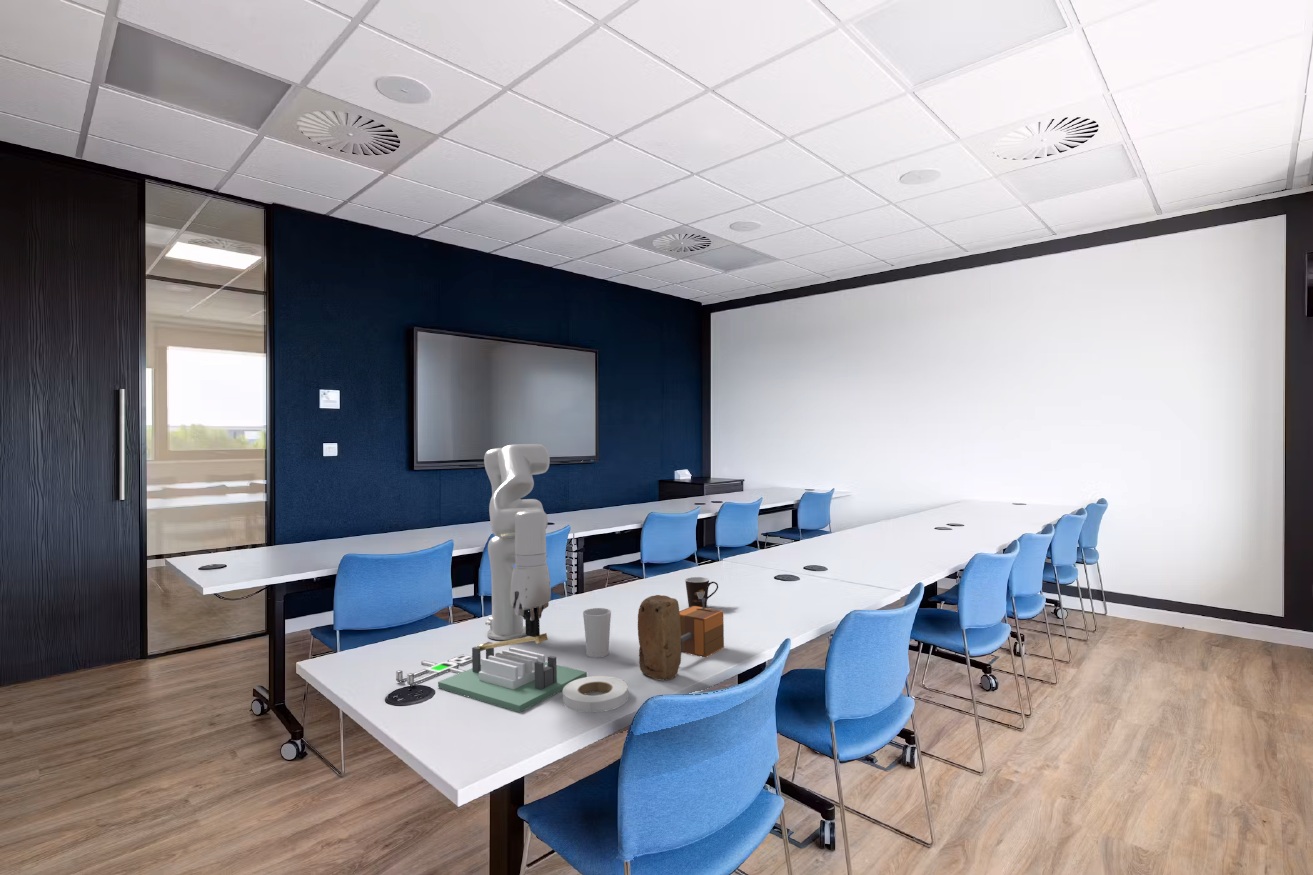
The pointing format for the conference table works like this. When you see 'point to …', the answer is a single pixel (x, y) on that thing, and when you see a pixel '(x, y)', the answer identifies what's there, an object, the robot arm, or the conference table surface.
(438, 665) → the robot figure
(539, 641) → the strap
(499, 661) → the motherboard
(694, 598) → the coffee mug
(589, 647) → the cup
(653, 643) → the block
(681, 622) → the clamp
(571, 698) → the roll of tape
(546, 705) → the conference table surface
